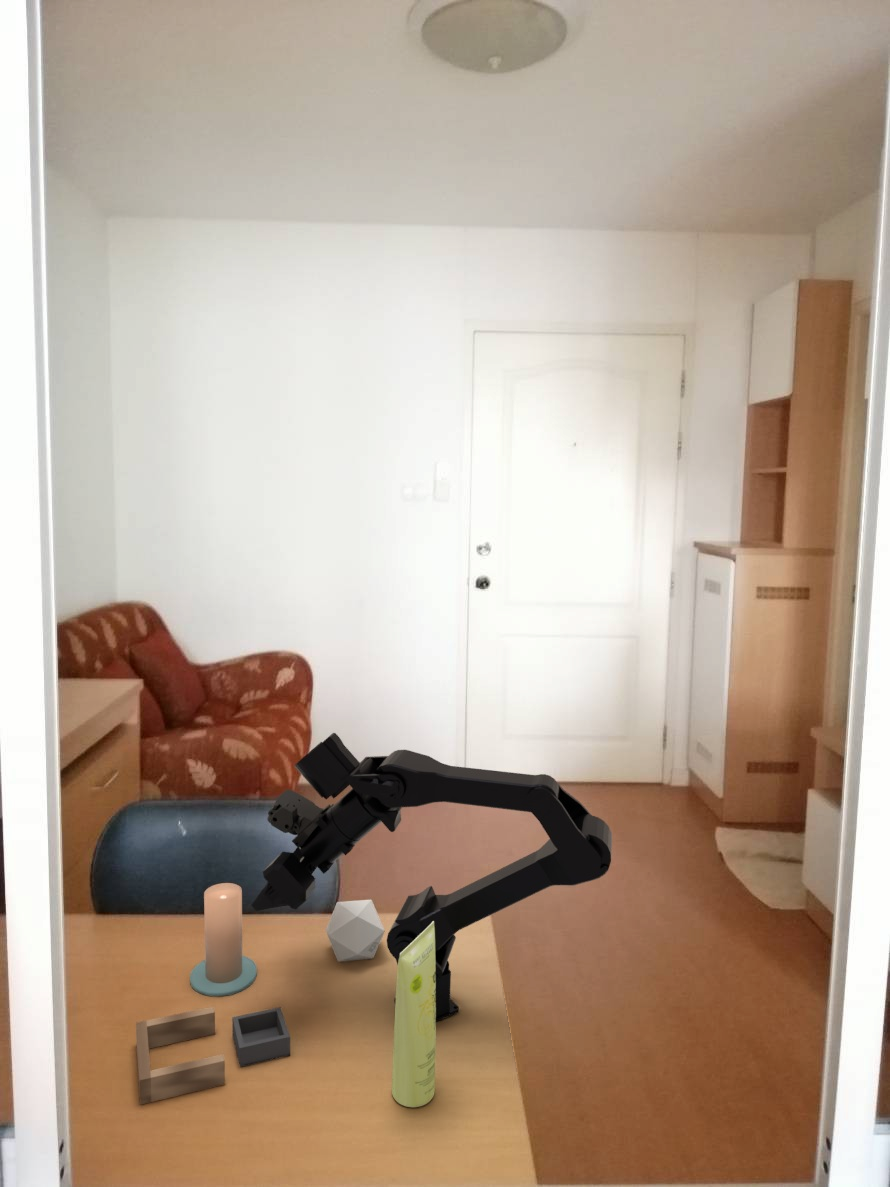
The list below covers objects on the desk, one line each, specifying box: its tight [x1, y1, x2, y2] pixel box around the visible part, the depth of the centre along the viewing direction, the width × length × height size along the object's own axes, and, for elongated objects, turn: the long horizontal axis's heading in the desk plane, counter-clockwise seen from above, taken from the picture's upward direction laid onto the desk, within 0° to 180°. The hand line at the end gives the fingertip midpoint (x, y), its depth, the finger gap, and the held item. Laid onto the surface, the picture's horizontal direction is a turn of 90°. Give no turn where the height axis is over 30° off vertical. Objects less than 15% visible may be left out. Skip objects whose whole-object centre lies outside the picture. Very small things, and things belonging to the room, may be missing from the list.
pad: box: [189, 954, 258, 997], centre depth 116 cm, size 9×9×1 cm
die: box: [325, 899, 386, 962], centre depth 122 cm, size 8×9×10 cm
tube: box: [391, 921, 437, 1108], centre depth 94 cm, size 6×5×20 cm
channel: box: [135, 1006, 226, 1106], centre depth 99 cm, size 9×10×3 cm
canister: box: [203, 882, 243, 983], centre depth 115 cm, size 5×5×12 cm
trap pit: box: [231, 1006, 291, 1068], centre depth 103 cm, size 6×6×2 cm
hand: (267, 890), depth 113 cm, fingers open, 9 cm apart
